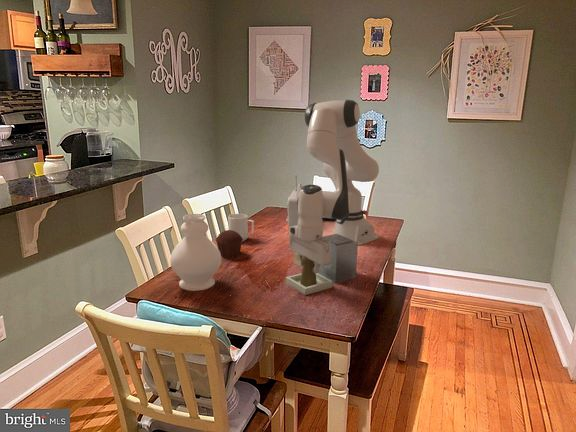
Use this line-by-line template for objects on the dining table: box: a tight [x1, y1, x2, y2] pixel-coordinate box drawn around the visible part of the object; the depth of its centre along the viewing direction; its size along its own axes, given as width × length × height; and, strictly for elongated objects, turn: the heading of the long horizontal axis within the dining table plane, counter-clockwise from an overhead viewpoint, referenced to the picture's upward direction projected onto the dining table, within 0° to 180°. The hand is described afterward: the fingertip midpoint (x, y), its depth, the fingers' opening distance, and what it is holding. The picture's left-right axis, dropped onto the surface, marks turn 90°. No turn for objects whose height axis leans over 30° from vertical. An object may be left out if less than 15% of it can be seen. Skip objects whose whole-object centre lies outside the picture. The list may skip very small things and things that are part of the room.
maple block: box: [292, 251, 303, 268], centre depth 191 cm, size 5×5×5 cm
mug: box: [227, 213, 255, 242], centre depth 219 cm, size 12×9×11 cm
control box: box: [318, 233, 359, 284], centre depth 179 cm, size 10×12×14 cm
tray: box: [285, 272, 334, 296], centre depth 171 cm, size 12×12×2 cm
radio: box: [285, 173, 303, 228], centre depth 244 cm, size 22×8×25 cm, turn 172°
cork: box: [300, 256, 317, 287], centre depth 170 cm, size 6×6×11 cm
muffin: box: [215, 229, 243, 259], centre depth 200 cm, size 12×11×10 cm
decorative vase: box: [169, 213, 222, 292], centre depth 169 cm, size 18×18×25 cm
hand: (309, 269), depth 170 cm, fingers open, 6 cm apart
